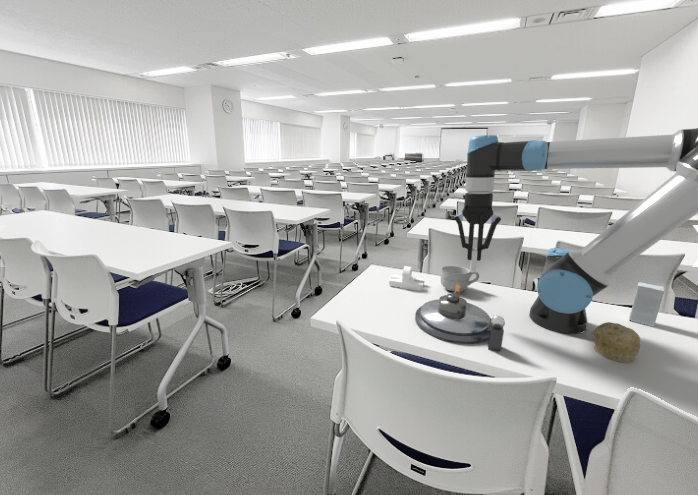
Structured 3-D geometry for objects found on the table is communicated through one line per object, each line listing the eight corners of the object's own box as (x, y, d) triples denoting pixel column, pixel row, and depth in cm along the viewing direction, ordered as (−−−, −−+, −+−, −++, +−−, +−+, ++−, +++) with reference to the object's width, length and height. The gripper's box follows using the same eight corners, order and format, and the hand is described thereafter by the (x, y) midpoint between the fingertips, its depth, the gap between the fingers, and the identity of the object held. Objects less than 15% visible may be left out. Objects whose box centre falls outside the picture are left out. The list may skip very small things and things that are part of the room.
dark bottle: (500, 345, 88) (505, 315, 86) (500, 351, 85) (506, 320, 83) (487, 343, 89) (491, 312, 87) (487, 349, 86) (492, 318, 84)
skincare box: (654, 322, 102) (664, 286, 99) (653, 327, 99) (664, 291, 96) (629, 316, 106) (638, 281, 103) (627, 320, 103) (637, 285, 100)
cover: (465, 309, 102) (467, 292, 100) (465, 320, 95) (467, 303, 93) (439, 305, 104) (440, 288, 103) (437, 316, 97) (438, 299, 96)
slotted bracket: (388, 286, 127) (389, 267, 125) (391, 280, 133) (392, 262, 131) (422, 291, 123) (423, 272, 121) (424, 284, 129) (425, 266, 127)
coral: (645, 360, 83) (653, 333, 81) (618, 366, 80) (626, 339, 78) (608, 341, 91) (614, 316, 89) (583, 346, 89) (589, 320, 87)
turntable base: (492, 312, 107) (492, 309, 106) (496, 351, 86) (497, 346, 85) (421, 301, 114) (421, 297, 114) (408, 333, 93) (409, 329, 93)
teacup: (437, 291, 123) (439, 271, 121) (441, 281, 133) (442, 262, 130) (476, 297, 118) (479, 276, 116) (477, 286, 128) (480, 267, 125)
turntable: (488, 308, 107) (490, 289, 105) (490, 341, 87) (494, 319, 85) (425, 298, 113) (427, 280, 111) (415, 327, 94) (417, 306, 92)
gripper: (502, 191, 95) (494, 268, 101) (455, 191, 99) (450, 265, 105) (505, 193, 89) (497, 276, 94) (455, 193, 92) (450, 272, 98)
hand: (473, 270), depth 100 cm, fingers closed
